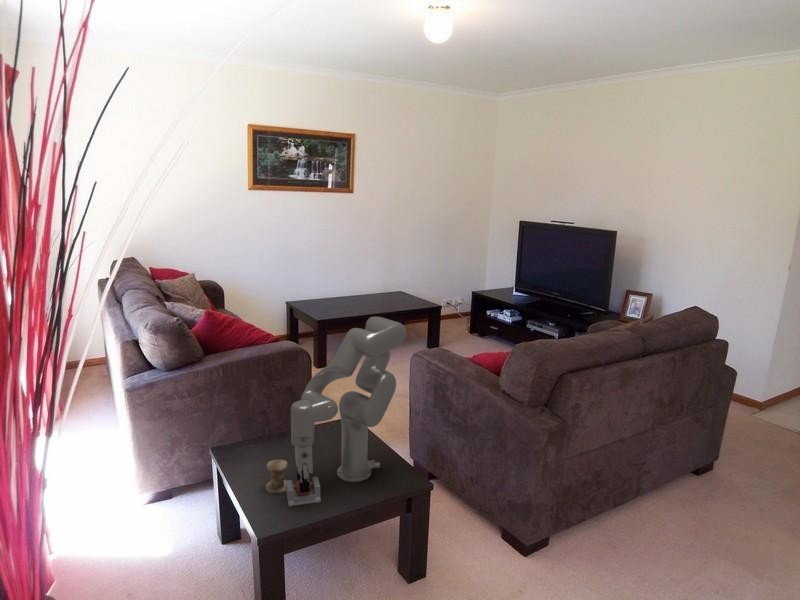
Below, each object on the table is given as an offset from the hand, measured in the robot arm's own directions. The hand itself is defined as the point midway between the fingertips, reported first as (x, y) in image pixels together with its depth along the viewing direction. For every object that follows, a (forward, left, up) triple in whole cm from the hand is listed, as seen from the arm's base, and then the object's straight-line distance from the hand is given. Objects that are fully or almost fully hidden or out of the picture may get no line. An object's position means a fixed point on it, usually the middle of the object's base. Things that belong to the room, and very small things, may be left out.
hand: (303, 485), depth 183 cm
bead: (0, 0, -3) cm, 3 cm away
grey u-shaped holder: (0, 0, -4) cm, 4 cm away
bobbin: (+8, -8, -4) cm, 12 cm away
